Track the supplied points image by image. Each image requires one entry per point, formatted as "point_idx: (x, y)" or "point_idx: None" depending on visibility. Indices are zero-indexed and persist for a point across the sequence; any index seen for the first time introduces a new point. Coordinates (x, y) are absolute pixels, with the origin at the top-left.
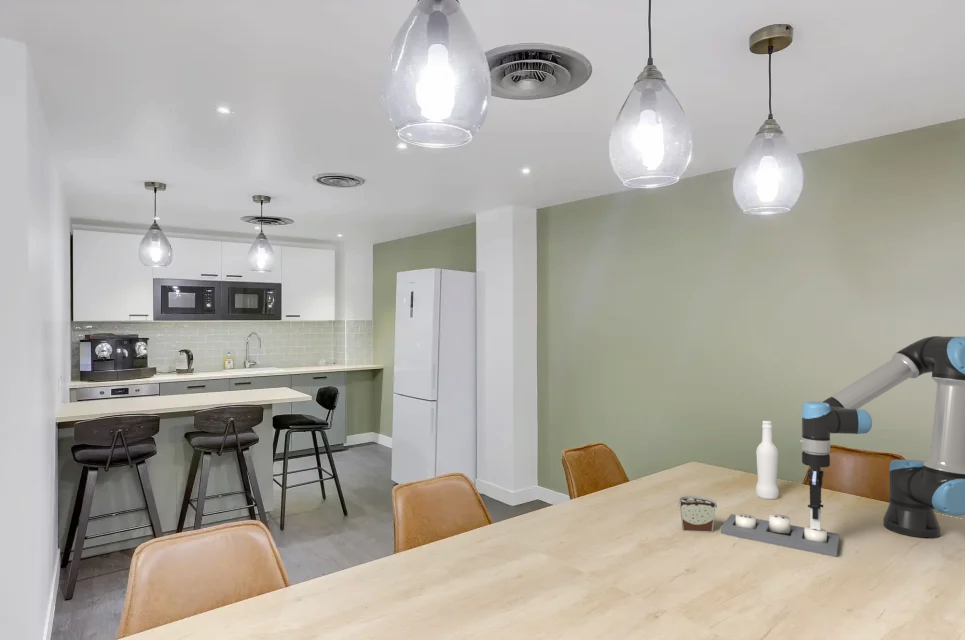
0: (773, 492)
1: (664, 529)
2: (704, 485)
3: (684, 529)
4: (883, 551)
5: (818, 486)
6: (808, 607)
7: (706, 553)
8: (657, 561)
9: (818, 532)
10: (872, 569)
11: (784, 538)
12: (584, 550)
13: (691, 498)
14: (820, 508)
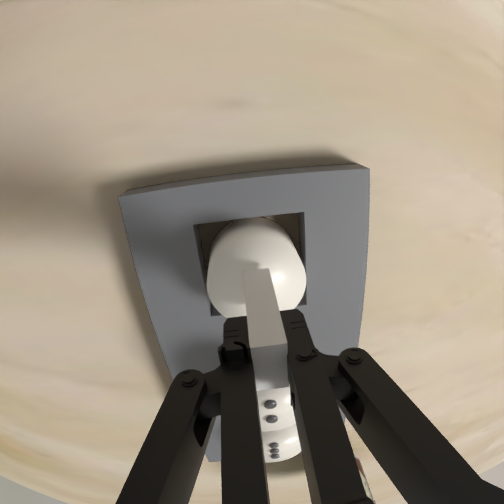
0: None
1: (365, 468)
2: (45, 474)
3: (358, 460)
4: (144, 26)
5: (481, 481)
6: None
7: (460, 392)
8: (496, 402)
9: (289, 267)
10: (399, 50)
11: (344, 341)
12: (474, 446)
13: None
14: (274, 345)
